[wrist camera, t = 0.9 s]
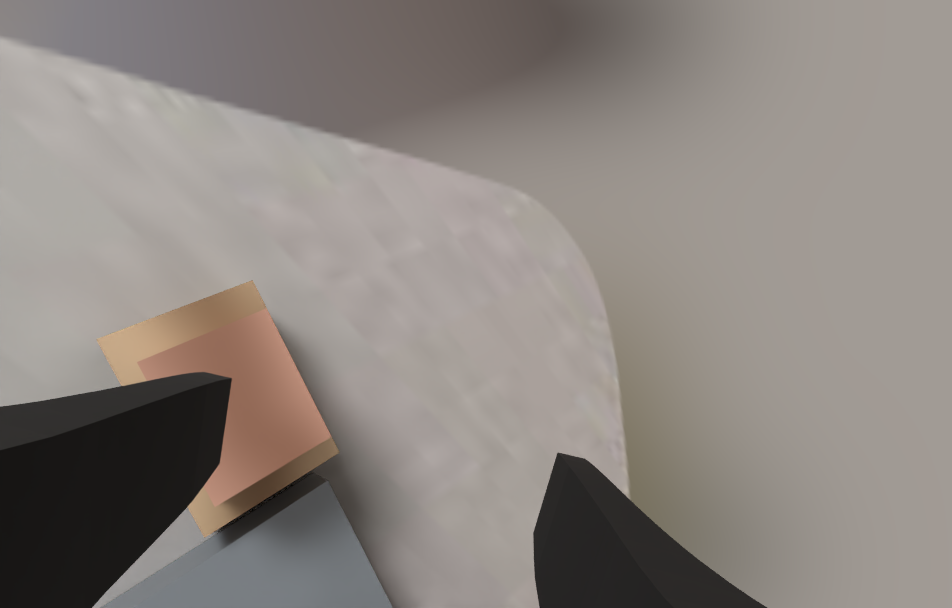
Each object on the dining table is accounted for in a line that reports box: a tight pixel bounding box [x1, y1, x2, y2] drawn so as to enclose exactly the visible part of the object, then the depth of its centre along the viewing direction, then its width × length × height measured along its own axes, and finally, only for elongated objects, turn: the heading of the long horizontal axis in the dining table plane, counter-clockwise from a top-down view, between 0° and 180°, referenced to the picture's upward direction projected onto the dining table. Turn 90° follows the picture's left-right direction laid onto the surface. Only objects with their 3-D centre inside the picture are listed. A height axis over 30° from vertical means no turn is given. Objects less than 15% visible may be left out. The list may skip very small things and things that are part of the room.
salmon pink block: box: [137, 308, 331, 507], centre depth 18 cm, size 4×5×4 cm
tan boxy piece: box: [96, 280, 340, 538], centre depth 20 cm, size 6×8×4 cm
